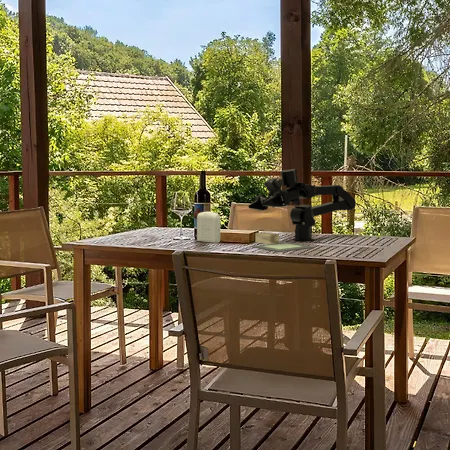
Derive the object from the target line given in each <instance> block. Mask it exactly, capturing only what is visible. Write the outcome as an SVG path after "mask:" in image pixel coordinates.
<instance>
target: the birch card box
mask: <svg viewBox="0 0 450 450" xmlns="http://www.w3.org/2000/svg"><path fill="white" fill-rule="evenodd" d="M254 242H255V243H259V244H262V245H267V244H276V243H280V233H274V232H268V231H267V232H266V231H264V232H263V231H262V232H255V241H254Z"/></svg>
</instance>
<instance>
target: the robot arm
mask: <svg viewBox="0 0 450 450" xmlns="http://www.w3.org/2000/svg"><path fill="white" fill-rule="evenodd" d="M280 177H281V178H279V179H278V178H277V177H276V178H275V177H273V178H269V179H268V180H267V181H266V182H264V184H263V185H264V187H266V189H267V191H268V193H267V195H265V194H260V195H257V196H255V197H254V200H255V201H253V202H252V203H250V204H248V209H249V210H256V211H258V212H261V211H262V212H263V211H266V210H268V209H269V207H271V208H283V207H287V206H289V205H290V204H291V203H292V205H294V207H293V208H291V211H290V213H289V217H290V220H291V223H292V226H293V225H294V226H295V228H294V238H292V240H293V241H300V242H307V241H314V240H315V238H312V235H313V234H312V230H313V229H312V227H315V225H316V219H315V217H318V216H322V215H325V214H330V213H333V212H337V211H352V210H354V209H355V206H356V203H357V202H356V200H355V198H354V197H353V196H352V195H351V194H350V193H349V192H348V191H346V190H345V189H344V187H343V186H342V185H339V184H332V185H313V184H305V183H304V182H301V181H300V182H299V181H298V170H297V168H291V169H283V170H280ZM282 186H283V187H285V188H284V189H282ZM327 195H331V197H332V199H331V200H332V201H330V202H325V203H322V204H318V205H313V206H312V205H311V204H304V203H303V204H301V201H302V200H301V199H307V200H308V199H312V198H315V197H316V196H327ZM266 196H267V197H266Z"/></svg>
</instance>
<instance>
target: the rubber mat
mask: <svg viewBox="0 0 450 450" xmlns="http://www.w3.org/2000/svg"><path fill="white" fill-rule="evenodd" d="M251 248H253V249H258V250H265V251H271V252H277V253H283V251H284V252H290V251H289V250H292V251H298V250H307V249H314V248H315V246H312V245H305V244H299V243H292V242H286V241H285V242H279V243H276V244H260V245H259V244H258V245H252V246H251Z"/></svg>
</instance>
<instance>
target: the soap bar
mask: <svg viewBox="0 0 450 450" xmlns="http://www.w3.org/2000/svg"><path fill="white" fill-rule="evenodd" d="M196 224H197V225H196V241H197V242H204V243H214V244H218V243H220V242H221V216H220V214H218V213H217V212H213V211H202V212H199V213H198V214H197V217H196Z"/></svg>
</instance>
